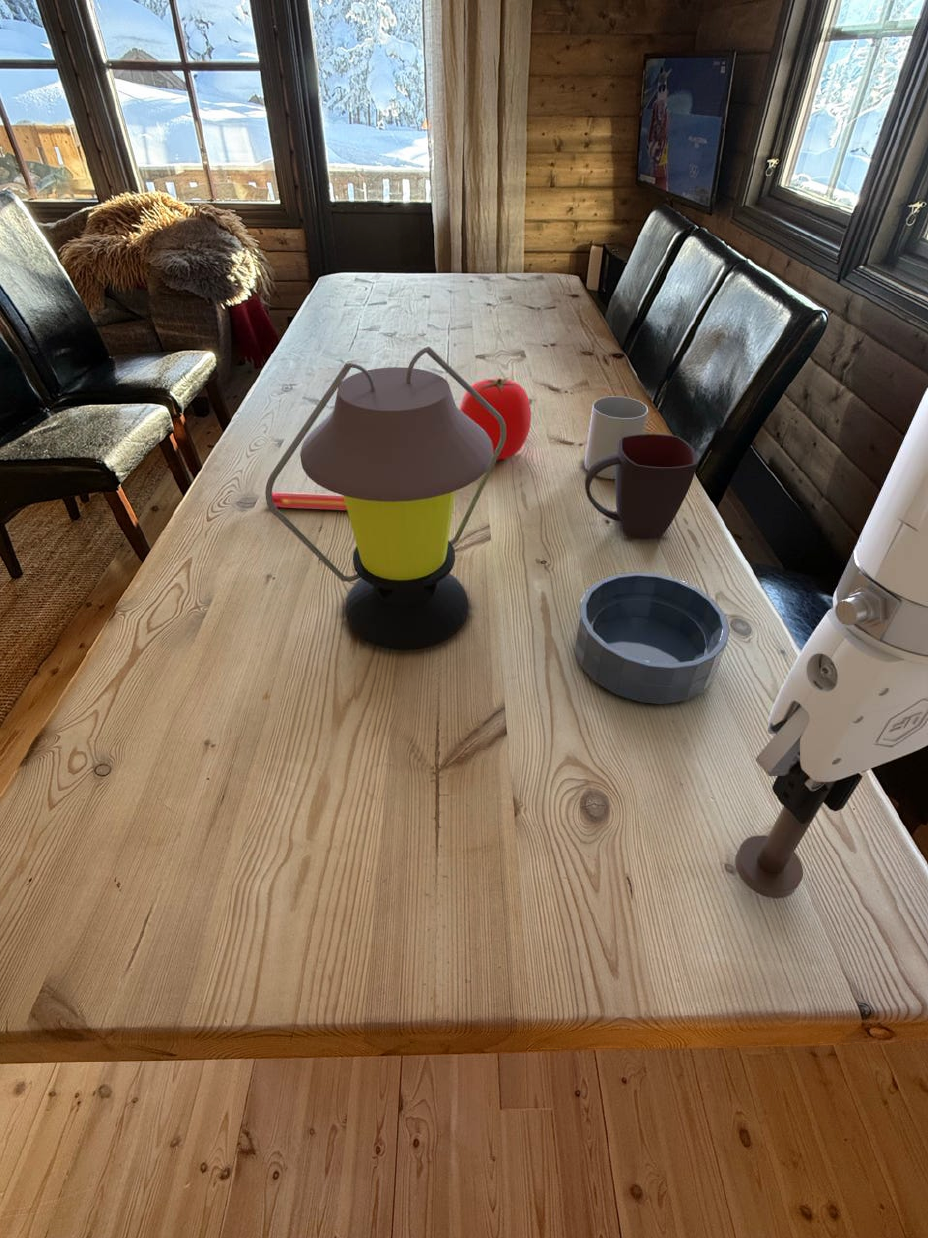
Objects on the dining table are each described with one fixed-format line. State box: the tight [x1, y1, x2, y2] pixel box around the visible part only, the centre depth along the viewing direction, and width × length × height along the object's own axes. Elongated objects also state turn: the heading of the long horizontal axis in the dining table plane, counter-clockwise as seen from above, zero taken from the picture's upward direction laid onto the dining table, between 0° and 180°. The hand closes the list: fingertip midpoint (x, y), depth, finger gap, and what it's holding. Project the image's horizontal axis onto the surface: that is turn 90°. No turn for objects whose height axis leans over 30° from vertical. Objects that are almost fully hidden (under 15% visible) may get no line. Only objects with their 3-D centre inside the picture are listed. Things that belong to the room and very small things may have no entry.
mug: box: [584, 433, 699, 540], centre depth 89 cm, size 10×14×12 cm
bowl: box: [573, 571, 731, 705], centre depth 72 cm, size 15×15×6 cm
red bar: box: [272, 491, 347, 511], centre depth 96 cm, size 24×2×5 cm
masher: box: [734, 781, 836, 899], centre depth 48 cm, size 5×5×15 cm
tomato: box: [459, 377, 532, 461], centre depth 106 cm, size 12×12×13 cm
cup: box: [584, 395, 649, 480], centre depth 104 cm, size 8×8×10 cm
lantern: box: [264, 346, 506, 651], centre depth 70 cm, size 25×19×30 cm
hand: (806, 799), depth 47 cm, fingers closed on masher
